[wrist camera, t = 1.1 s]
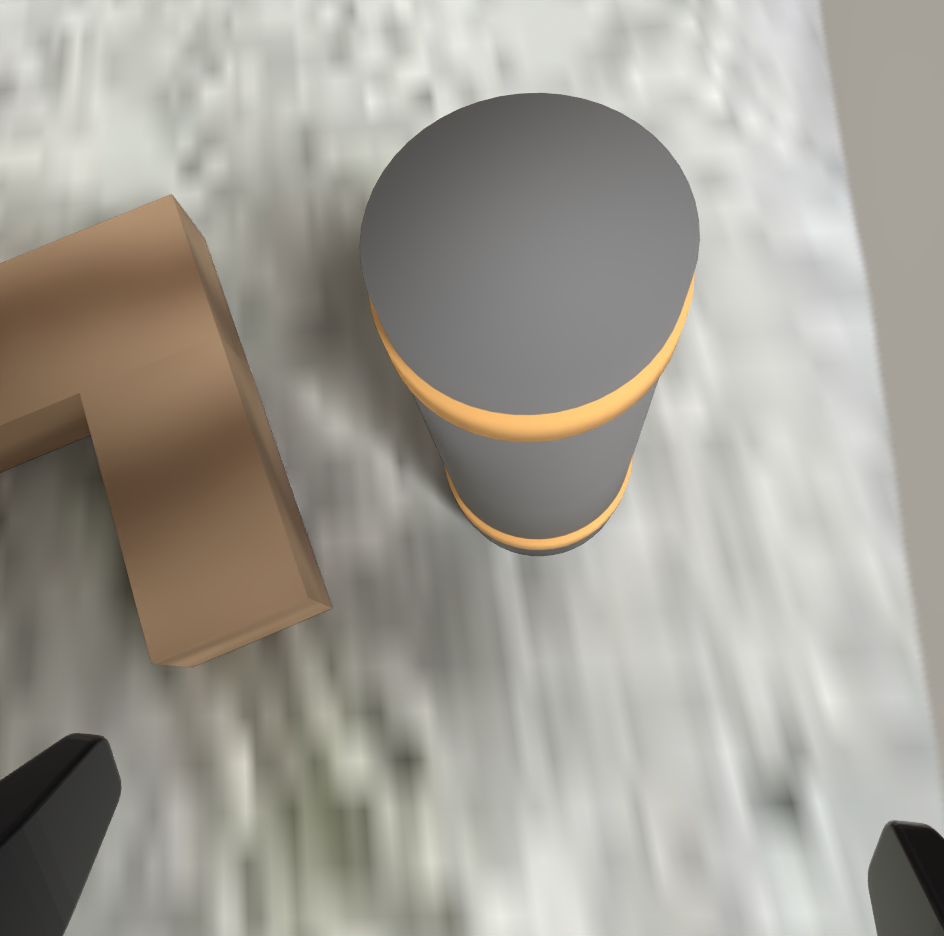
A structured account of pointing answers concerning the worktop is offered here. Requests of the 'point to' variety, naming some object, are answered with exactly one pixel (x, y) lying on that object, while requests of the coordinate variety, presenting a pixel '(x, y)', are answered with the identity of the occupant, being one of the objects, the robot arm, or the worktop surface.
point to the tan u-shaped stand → (159, 427)
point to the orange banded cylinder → (532, 303)
